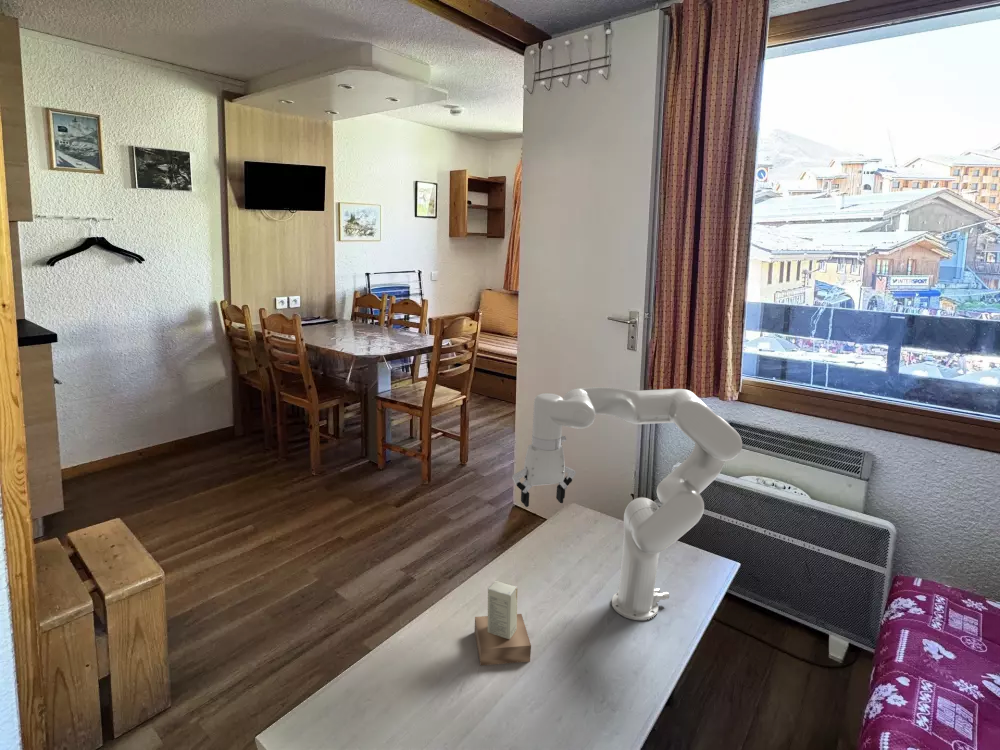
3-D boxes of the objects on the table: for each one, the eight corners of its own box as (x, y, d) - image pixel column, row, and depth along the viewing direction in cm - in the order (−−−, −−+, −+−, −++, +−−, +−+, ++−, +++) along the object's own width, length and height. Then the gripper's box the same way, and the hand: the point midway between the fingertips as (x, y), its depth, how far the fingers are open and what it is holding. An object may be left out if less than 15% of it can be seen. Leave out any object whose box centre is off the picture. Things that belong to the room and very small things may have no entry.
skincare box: (517, 630, 151) (519, 586, 148) (509, 640, 147) (511, 596, 144) (493, 621, 154) (495, 579, 151) (485, 632, 150) (487, 588, 147)
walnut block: (520, 630, 159) (521, 613, 157) (529, 663, 147) (531, 645, 146) (474, 633, 157) (475, 616, 155) (480, 667, 145) (481, 649, 144)
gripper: (571, 434, 163) (567, 493, 168) (509, 439, 158) (506, 499, 163) (583, 444, 156) (578, 506, 161) (519, 449, 151) (516, 512, 156)
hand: (542, 502), depth 162 cm, fingers open, 9 cm apart
